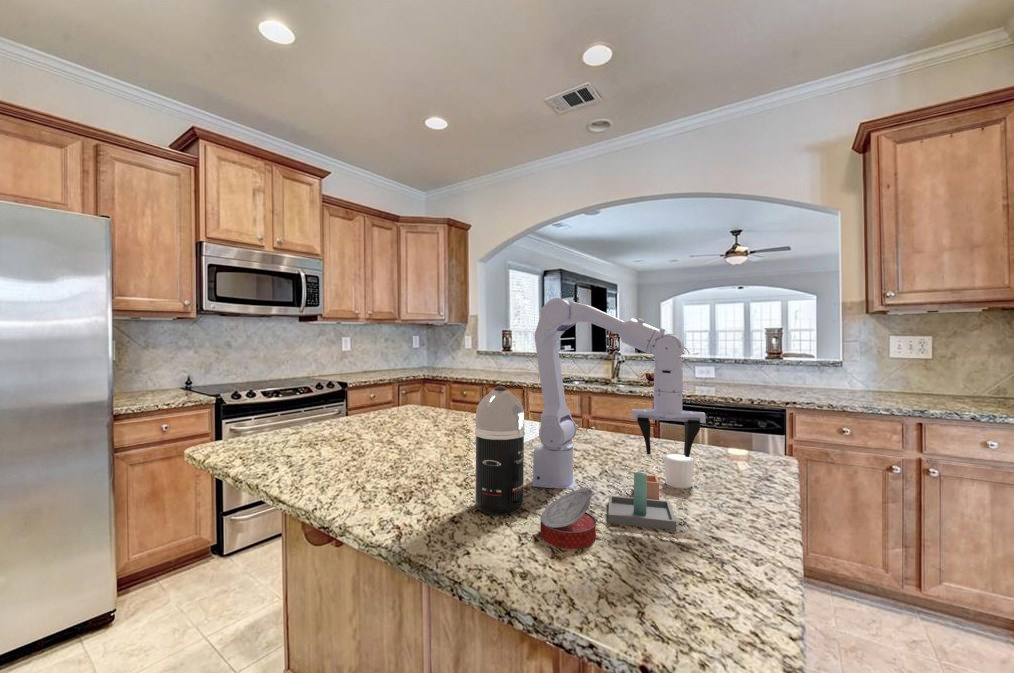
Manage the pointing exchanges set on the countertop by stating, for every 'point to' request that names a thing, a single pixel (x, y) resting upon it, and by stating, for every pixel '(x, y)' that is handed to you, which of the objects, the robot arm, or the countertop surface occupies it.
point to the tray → (656, 515)
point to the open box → (652, 487)
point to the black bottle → (499, 453)
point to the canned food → (569, 521)
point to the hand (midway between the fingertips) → (667, 454)
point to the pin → (640, 493)
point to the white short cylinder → (678, 470)
